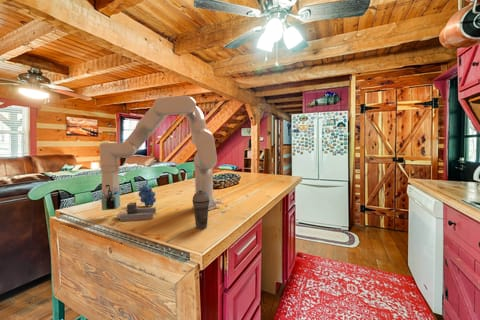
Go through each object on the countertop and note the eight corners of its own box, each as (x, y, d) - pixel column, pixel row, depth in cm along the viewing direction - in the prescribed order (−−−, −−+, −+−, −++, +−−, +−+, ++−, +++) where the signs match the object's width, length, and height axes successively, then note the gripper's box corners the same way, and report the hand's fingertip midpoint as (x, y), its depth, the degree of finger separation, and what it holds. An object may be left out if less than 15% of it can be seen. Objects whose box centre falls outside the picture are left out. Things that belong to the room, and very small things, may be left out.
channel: (156, 212, 118) (155, 207, 117) (152, 218, 107) (152, 213, 107) (126, 214, 115) (126, 209, 114) (120, 221, 104) (120, 215, 104)
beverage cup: (193, 224, 100) (192, 179, 98) (210, 223, 101) (209, 178, 99) (191, 230, 93) (190, 182, 91) (209, 230, 93) (209, 181, 92)
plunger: (136, 214, 113) (136, 202, 112) (134, 217, 108) (133, 205, 108) (120, 215, 111) (119, 203, 111) (117, 218, 106) (116, 206, 106)
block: (120, 205, 112) (119, 193, 111) (116, 209, 106) (115, 196, 105) (106, 206, 110) (105, 194, 110) (102, 210, 104) (101, 197, 104)
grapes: (133, 207, 127) (132, 186, 126) (142, 204, 134) (141, 183, 133) (150, 209, 123) (149, 187, 122) (158, 205, 130) (158, 185, 129)
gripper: (108, 167, 114) (110, 202, 116) (93, 171, 97) (97, 212, 99) (124, 166, 116) (126, 201, 117) (113, 170, 99) (115, 211, 101)
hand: (113, 206), depth 108 cm, fingers closed on block, 6 cm apart
